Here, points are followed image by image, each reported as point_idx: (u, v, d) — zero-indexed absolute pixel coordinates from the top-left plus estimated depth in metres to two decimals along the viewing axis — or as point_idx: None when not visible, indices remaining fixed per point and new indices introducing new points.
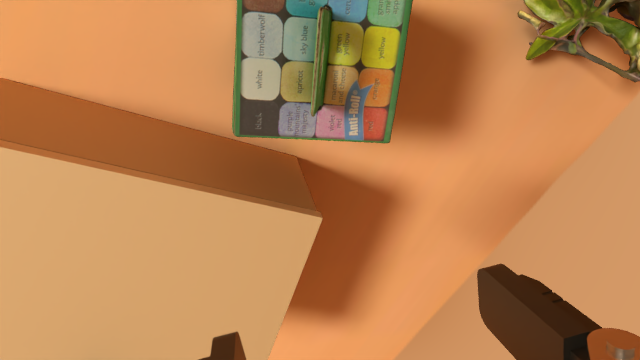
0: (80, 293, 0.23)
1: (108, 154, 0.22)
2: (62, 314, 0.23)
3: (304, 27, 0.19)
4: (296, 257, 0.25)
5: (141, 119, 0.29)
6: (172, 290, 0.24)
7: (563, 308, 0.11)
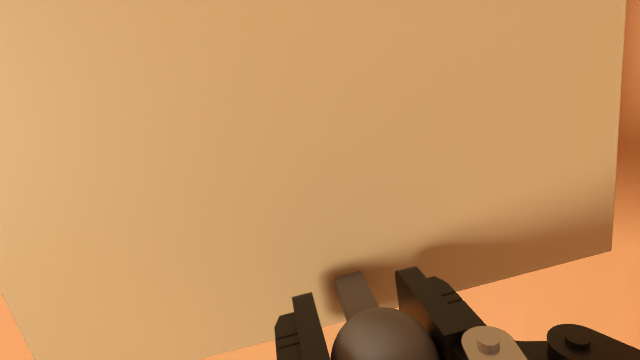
0: (275, 133, 0.13)
1: None
2: (263, 188, 0.13)
3: None
4: None
5: None
6: (419, 66, 0.13)
7: (459, 307, 0.11)
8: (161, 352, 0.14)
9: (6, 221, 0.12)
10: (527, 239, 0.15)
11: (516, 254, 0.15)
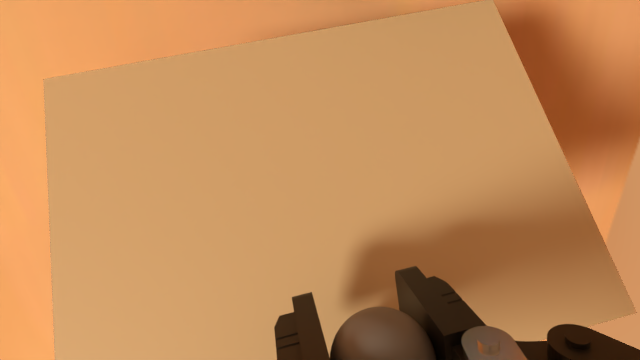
0: (288, 203, 0.16)
1: None
2: (279, 247, 0.16)
3: None
4: (502, 51, 0.19)
5: None
6: (393, 152, 0.17)
7: (459, 307, 0.11)
8: None
9: (79, 275, 0.15)
10: (535, 298, 0.16)
11: (529, 315, 0.15)
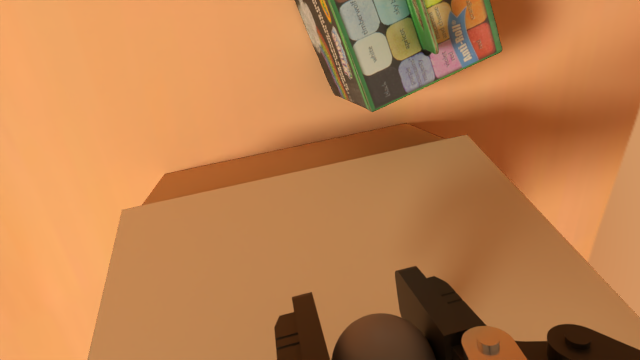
0: (306, 284, 0.18)
1: None
2: None
3: None
4: (482, 165, 0.23)
5: (273, 153, 0.33)
6: (398, 240, 0.20)
7: (459, 307, 0.11)
8: None
9: (112, 353, 0.17)
10: None
11: None
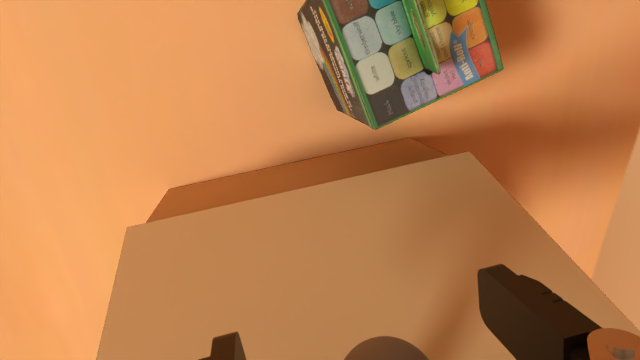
0: (309, 303, 0.18)
1: None
2: (300, 341, 0.17)
3: (391, 12, 0.22)
4: (485, 181, 0.23)
5: (277, 168, 0.34)
6: (402, 258, 0.20)
7: (563, 308, 0.11)
8: None
9: None
10: None
11: None
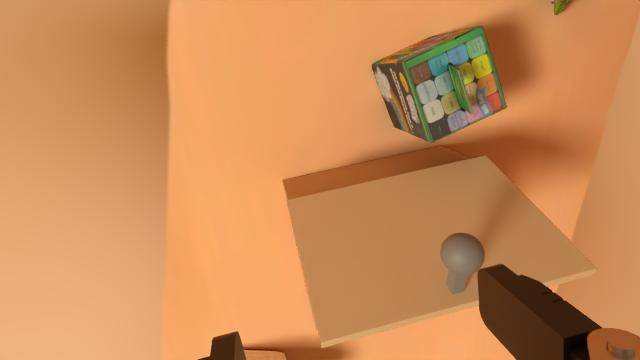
0: (406, 235, 0.35)
1: None
2: (405, 252, 0.33)
3: (443, 77, 0.38)
4: (495, 173, 0.40)
5: (354, 166, 0.50)
6: (452, 214, 0.36)
7: (563, 308, 0.11)
8: (370, 319, 0.29)
9: (315, 267, 0.33)
10: (540, 264, 0.31)
11: (539, 271, 0.31)
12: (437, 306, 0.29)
